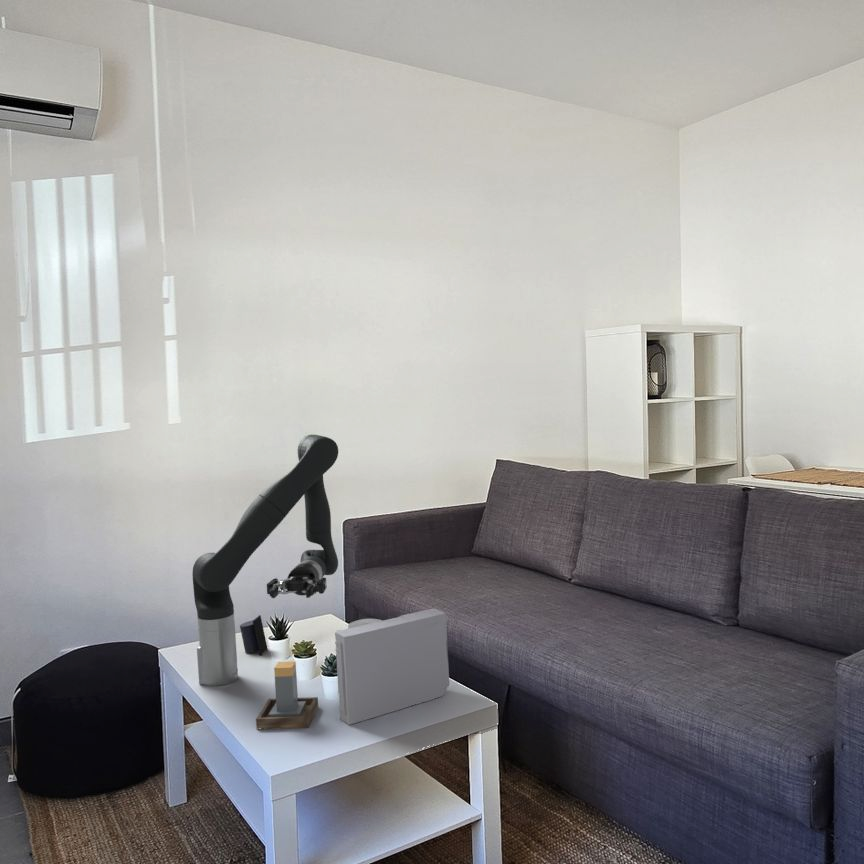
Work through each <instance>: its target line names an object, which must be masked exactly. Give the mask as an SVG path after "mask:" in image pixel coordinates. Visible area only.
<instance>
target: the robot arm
mask: <svg viewBox="0 0 864 864" xmlns="http://www.w3.org/2000/svg"><path fill="white" fill-rule="evenodd" d="M338 446H339V445H338V443H336V441H335V440H334V439H333V438H330V437H327V436H323V435H318V434H308V435H306V436H304V437H303V438H302V439H300V441H299V443H298V446H297V458H298V462H297V463H296V464H295V466H294V467H292V468H291V470H290V471H288V472H287V473H286V474H285V475H283V476H282V477H280V478H279V479H277V480H275V481H274V482H273V483H271V484H270V485H268V486H267V487H265V489H263V490H261V492H260V493H259V494H258V495H257V496H256V498H255V499H254V500H253V501H252V502H251V503H250V504H249V506H248V507H247V508H246V509H245V511H244V513H243V515H242V517H241V518H240V520H239V522H238V524H237V526H236V528H235V530H234V531H233V533H232V535H231V537H230V538H229V539H228V540H227V542H225V544H223V545H222V546H221V548H219V550H217V551H216V552H205V553H203V554H201V555H200V556H199V557H198V558H197V559H196V560H195V562H194V564H193V567H192V585H193V586H192V587H193V595H194V599H193V600H194V605H195V609H196V612H197V613H196V614H197V628H198V641H199V642H198V645H199V646H197V647H196V655H197V656H196V658H197V668H198V669H197V670H198V673H197V674H198V685H205V686H222V685H227V684H230V683H233V682H235V681H237V679H238V678H239V669H238V656H237V653H238V651H237V639H236V638H237V637H236V624H235V623H236V622H235V609H234V603H233V600H232V596H231V591H230V585H231V584H232V583H233V581H234V580H235V578H236V577H237V576H238V574H239V573H240V572H241V570H242V568H243V567H244V566H245V564H246V563H247V561H248V560H249V559H250V557H252V555H253V553H255V551H257V550H258V548H259V547H260V546H261V545H263V543H264V542H265V541H266V539H267V538H268V537H269V536H270V535H271V533H272V532H273V531H275V529H277V528H278V526H279V525H280V524H281V523H282V521H283V520H284V519H285V518H286V517H287V516H288V515H289V513H290V512H291V510H292V509H293V508H294V507H295V506H296V505H297V503H298V502H299V501H300V499H302V498H303V496H304V508H305V537H306V540H307V541H308V542H309V543H313V544H317V545H319V546H320V547H321V548H322V549H306V550H304V551H303V552H302V554H301V555H300V562H299V563H298V564H296V566H294V567H293V568H292V569H291V571H290V572H289V573H288V576H287V577H286V578H285V579H282V580H280V581H279V579H278V578H277V577H274V578H273V579H271V580H270V581H269V582H267V584H266V595H269V597H271V599H275V598H276V597H277V596H279V595H288V594H295V595H296V596H303V597H304V596H305V598H307V599H309V598H311V597H312V596H314V595H316V594H317V593H319V594H320V595H322V594H325V591H326V590H327V578H326V577H324V576H332V575H334V574H335V573H336V572H337V570H338V567H339V559H338V555H337V552H336V548H335V545H334V541H333V537H332V520H331V519H332V517H331V516H332V514H331V509H330V508H331V507H330V503H329V500H328V496H327V493H326V489H325V482H324V475H325V474H326V473H327V471H329V470H330V469H331V468H332V467H333V465H334V464H335V463H336V461H337V459H338V457H339V447H338Z"/></svg>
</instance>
